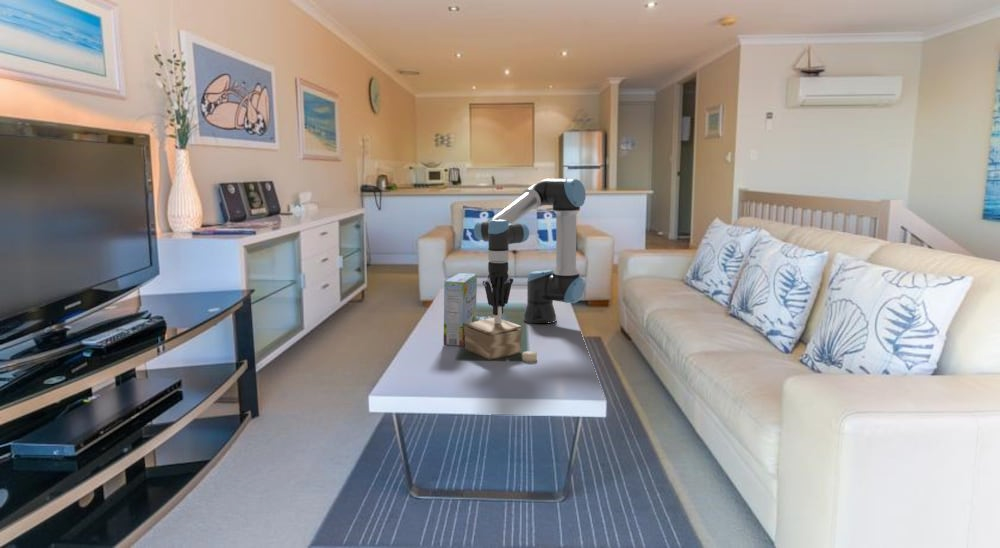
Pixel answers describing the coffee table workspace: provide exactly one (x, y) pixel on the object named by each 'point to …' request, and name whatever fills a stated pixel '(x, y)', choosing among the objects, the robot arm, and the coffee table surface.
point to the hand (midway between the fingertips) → (497, 322)
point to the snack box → (459, 307)
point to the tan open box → (493, 343)
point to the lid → (492, 326)
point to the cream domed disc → (529, 356)
